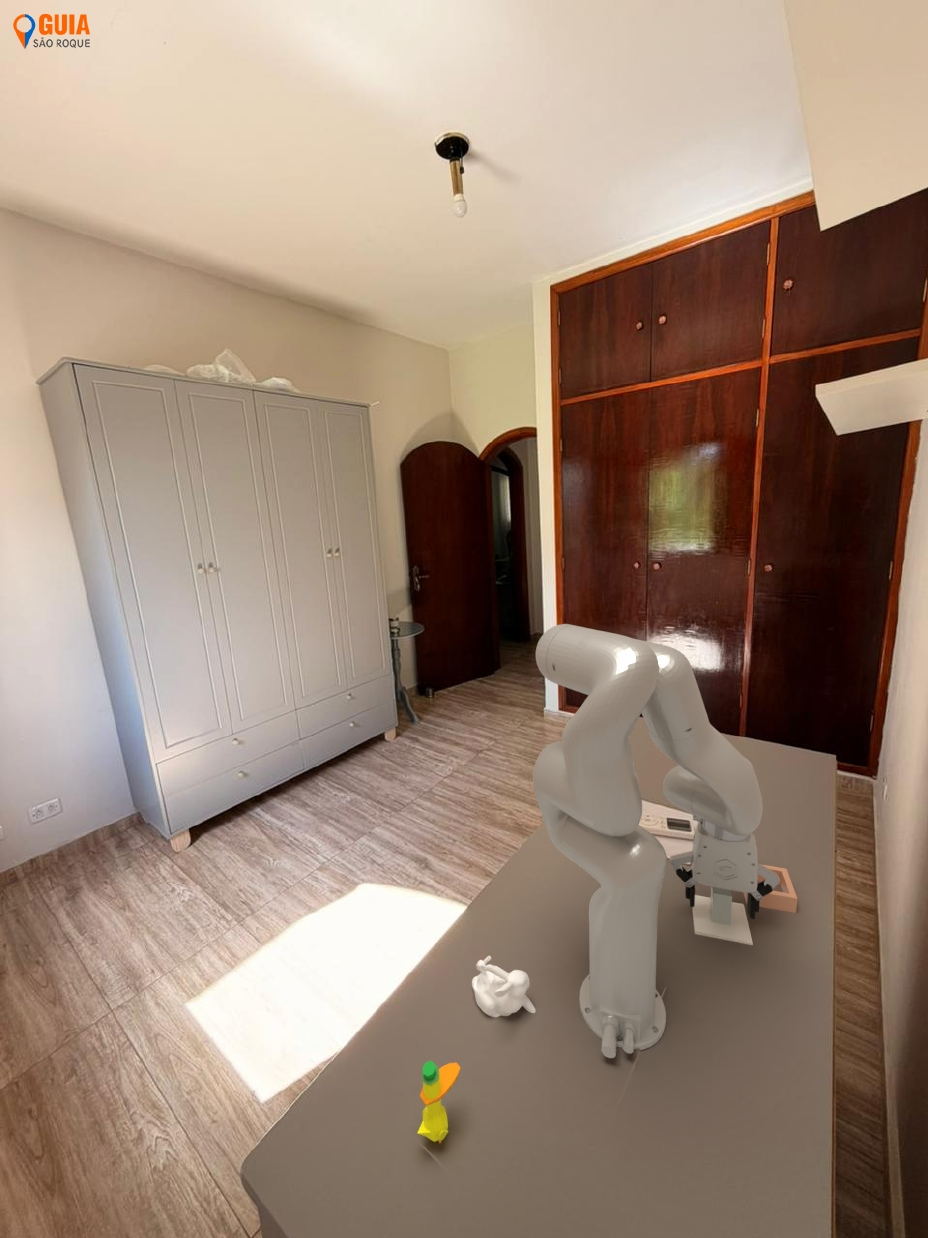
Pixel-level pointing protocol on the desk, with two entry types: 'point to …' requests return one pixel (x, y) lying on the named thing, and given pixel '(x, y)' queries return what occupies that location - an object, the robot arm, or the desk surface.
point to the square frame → (779, 893)
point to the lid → (721, 917)
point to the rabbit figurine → (500, 990)
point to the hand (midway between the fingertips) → (720, 907)
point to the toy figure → (436, 1098)
